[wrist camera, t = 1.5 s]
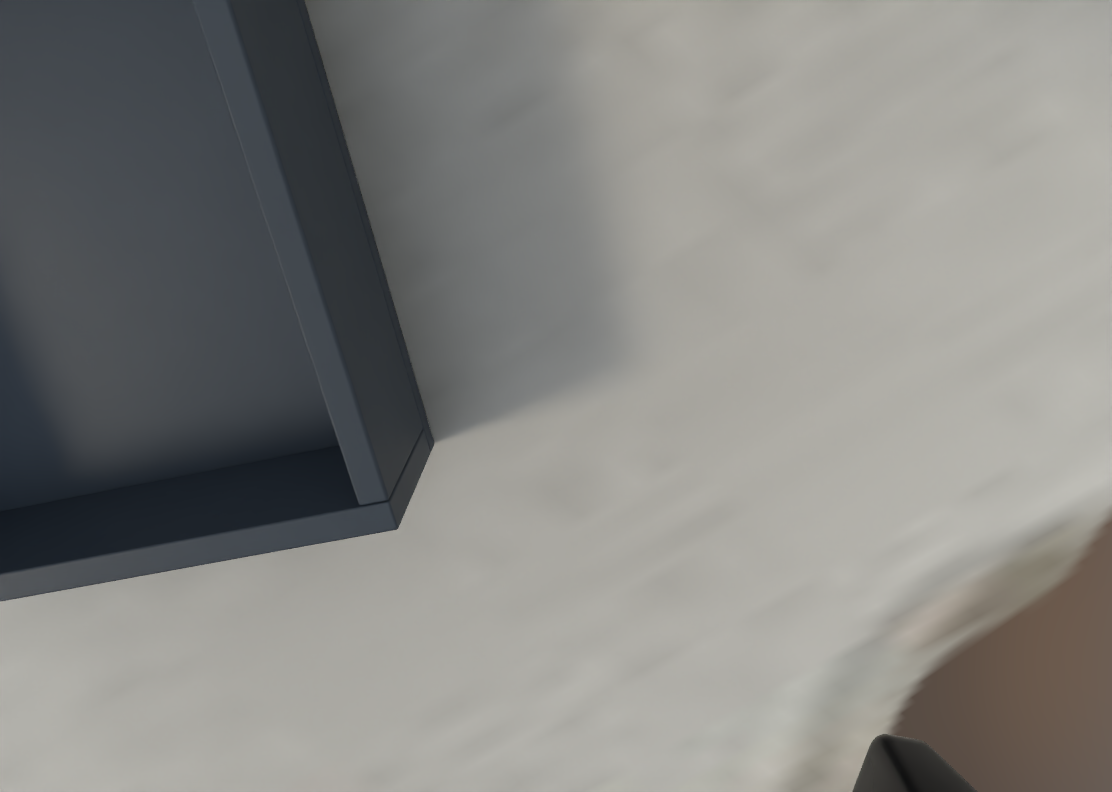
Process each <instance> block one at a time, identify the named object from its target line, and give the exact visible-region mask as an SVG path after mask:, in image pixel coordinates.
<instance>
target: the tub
mask: <svg viewBox="0 0 1112 792" xmlns="http://www.w3.org/2000/svg"><path fill="white" fill-rule="evenodd" d="M433 446H434V440H433V437H432V433H431V430H430V427H429V423H428V420H427V416H426V413H425V410H424V406H423V403H422V399H421V396H420V393H419V389H418V386H417V382H416V379H415V376H414V372H413V369H412V365H411V362H410V359H409V355H408V352H407V348H406V345H405V342H404V338H403V335H402V331H401V328H400V325H399V321H398V318H397V314H396V311H395V308H394V304H393V301H392V297H391V294H390V291H389V287H388V284H387V280H386V277H385V274H384V270H383V267H382V263H381V260H380V257H379V253H378V250H377V246H376V243H375V240H374V236H373V233H372V229H371V226H370V223H369V219H368V216H367V212H366V209H365V206H364V202H363V199H362V195H361V192H360V189H359V185H358V182H357V178H356V175H355V172H354V168H353V165H352V161H351V158H350V155H349V151H348V148H347V144H346V141H345V138H344V134H343V131H342V127H341V124H340V121H339V117H338V114H337V110H336V107H335V104H334V100H333V97H332V93H331V90H330V87H329V83H328V80H327V76H326V73H325V70H324V66H323V63H322V59H321V56H320V53H319V49H318V46H317V42H316V39H315V36H314V32H313V29H312V25H311V22H310V19H309V15H308V12H307V8H306V5H305V2H304V0H0V601H5V600H11V599H17V598H22V597H28V596H33V595H39V594H44V593H50V592H55V591H61V590H66V589H72V588H77V587H83V586H88V585H94V584H99V583H105V582H110V581H116V580H121V579H127V578H132V577H138V576H143V575H149V574H154V573H160V572H165V571H171V570H176V569H182V568H187V567H193V566H198V565H204V564H209V563H215V562H220V561H226V560H231V559H237V558H242V557H248V556H253V555H259V554H264V553H270V552H275V551H281V550H286V549H292V548H297V547H303V546H308V545H314V544H319V543H325V542H330V541H336V540H342V539H347V538H353V537H358V536H364V535H369V534H375V533H380V532H386V531H391V530H396V529H398V527H399V525H400V523H401V520H402V518H403V516H404V513H405V511H406V509H407V506H408V504H409V501H410V499H411V497H412V494H413V492H414V490H415V487H416V485H417V483H418V480H419V478H420V476H421V473H422V471H423V469H424V466H425V464H426V462H427V459H428V457H429V455H430V452H431V450H432V448H433Z"/></svg>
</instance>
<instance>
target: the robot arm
mask: <svg viewBox="0 0 1112 792" xmlns="http://www.w3.org/2000/svg"><path fill="white" fill-rule="evenodd" d="M853 792H977V791H976V790H975V789H974V788H973V787H972V786H971V785H970V784H969V783H968V782H967V781H966V780H965V779H964V778H963V777H961V775H959V774H958V773H957V772H956V771H955V770H954V769H953V768H952V767H951V766H950V765H949V764H948V763H947V762H946V761H945V760H944V759H943V758H942V757H941V756H939V754H937V753H936V752H935V751H934V750H933V749H932V748H931V747H930V746H929V745H927V744H926V743H925V742H923V741H921V740H917V739H912V738H906V737H900V736H894V735H888V734H882V735H879V736H877V737H876V738H875V739H874V740H873V741H872V743H871V745H870V747H869V749H868V752H867V755H866V757H865V760H864V763H863V765H862V768H861V771H860V773H859V776H858V778H857V781H856V784H855V786H854V789H853Z"/></svg>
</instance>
